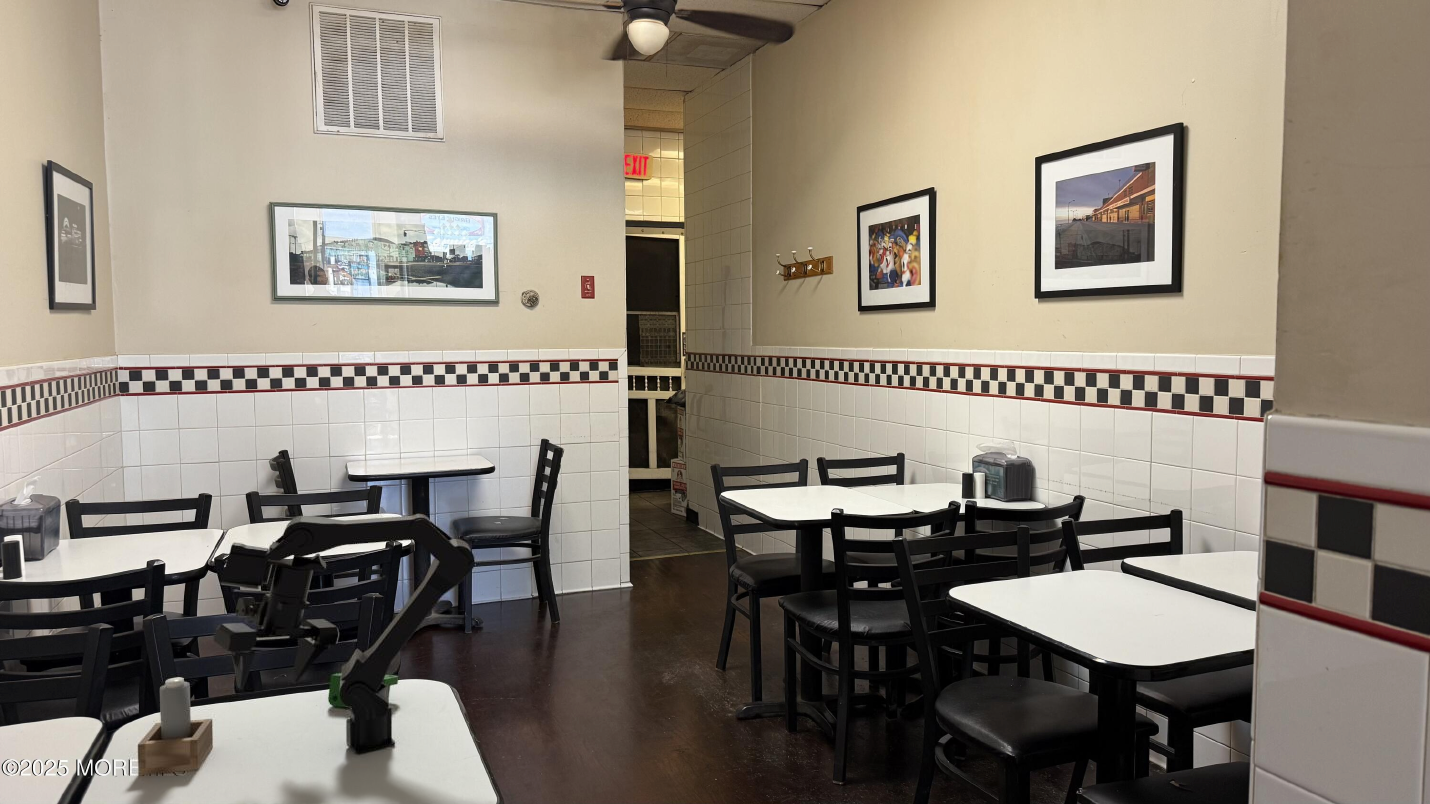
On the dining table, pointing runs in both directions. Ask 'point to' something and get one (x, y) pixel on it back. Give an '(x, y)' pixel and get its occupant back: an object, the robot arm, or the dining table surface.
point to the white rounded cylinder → (175, 709)
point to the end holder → (175, 750)
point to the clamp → (335, 688)
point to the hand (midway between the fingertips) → (267, 685)
